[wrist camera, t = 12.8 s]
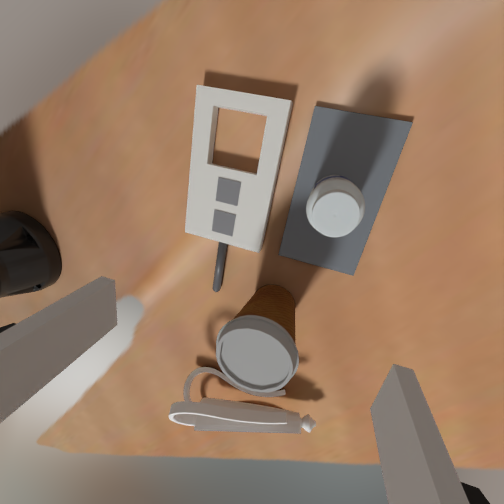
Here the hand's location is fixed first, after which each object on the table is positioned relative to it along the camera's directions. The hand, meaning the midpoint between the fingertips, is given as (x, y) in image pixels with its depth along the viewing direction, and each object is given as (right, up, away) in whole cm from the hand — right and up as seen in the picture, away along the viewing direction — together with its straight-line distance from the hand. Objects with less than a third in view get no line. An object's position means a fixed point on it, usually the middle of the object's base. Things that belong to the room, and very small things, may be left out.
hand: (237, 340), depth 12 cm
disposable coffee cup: (+4, -3, +27) cm, 27 cm away
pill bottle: (+10, +11, +19) cm, 24 cm away
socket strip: (-2, +10, +23) cm, 25 cm away
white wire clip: (0, -20, +34) cm, 40 cm away
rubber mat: (+11, +11, +19) cm, 24 cm away
